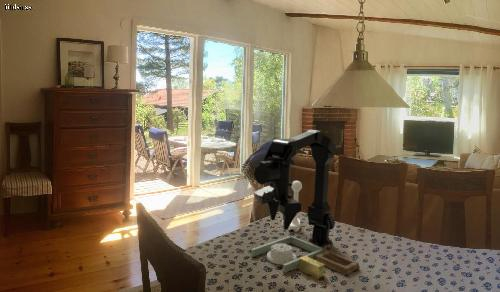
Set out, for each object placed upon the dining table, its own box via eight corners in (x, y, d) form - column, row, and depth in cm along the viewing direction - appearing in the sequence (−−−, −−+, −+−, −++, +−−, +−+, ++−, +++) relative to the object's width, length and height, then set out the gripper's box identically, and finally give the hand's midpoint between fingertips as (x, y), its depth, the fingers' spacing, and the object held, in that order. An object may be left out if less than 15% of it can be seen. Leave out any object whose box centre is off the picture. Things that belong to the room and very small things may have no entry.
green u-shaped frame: (290, 241, 152) (290, 235, 152) (324, 255, 141) (324, 249, 140) (251, 255, 139) (251, 249, 138) (284, 272, 127) (285, 265, 127)
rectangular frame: (327, 255, 141) (328, 250, 141) (358, 268, 132) (359, 262, 132) (315, 261, 136) (315, 255, 136) (346, 274, 127) (346, 269, 127)
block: (298, 269, 130) (299, 258, 129) (304, 267, 132) (305, 255, 131) (318, 279, 124) (318, 267, 124) (324, 276, 126) (324, 264, 126)
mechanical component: (264, 263, 134) (294, 267, 132) (265, 251, 133) (295, 254, 131) (269, 251, 143) (296, 254, 141) (269, 239, 143) (297, 243, 141)
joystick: (299, 231, 163) (302, 184, 160) (281, 230, 164) (283, 183, 161) (300, 222, 174) (302, 178, 170) (282, 221, 175) (284, 176, 171)
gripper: (246, 173, 134) (245, 218, 136) (271, 188, 117) (269, 238, 120) (276, 171, 138) (274, 214, 141) (304, 185, 121) (301, 233, 124)
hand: (279, 224), depth 131 cm, fingers open, 9 cm apart
